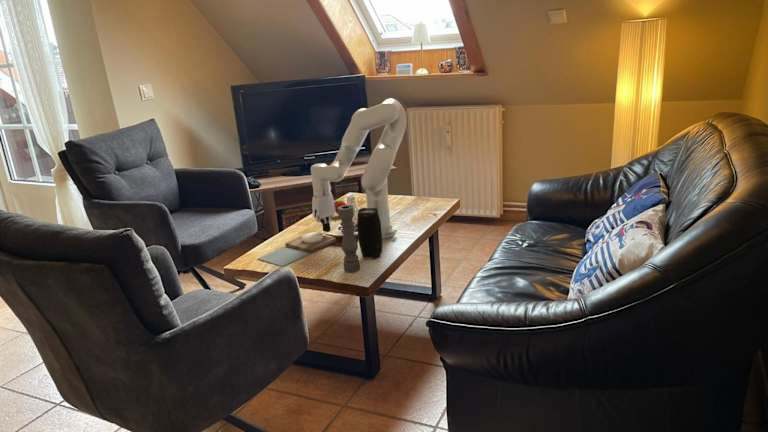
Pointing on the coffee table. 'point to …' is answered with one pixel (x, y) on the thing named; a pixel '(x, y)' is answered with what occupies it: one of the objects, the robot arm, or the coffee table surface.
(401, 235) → the coffee table surface
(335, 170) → the robot arm
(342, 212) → the candle holder
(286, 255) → the mat
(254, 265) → the coffee table surface
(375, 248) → the portable speaker
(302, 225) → the coffee table surface
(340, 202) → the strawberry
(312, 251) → the riser
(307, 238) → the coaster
